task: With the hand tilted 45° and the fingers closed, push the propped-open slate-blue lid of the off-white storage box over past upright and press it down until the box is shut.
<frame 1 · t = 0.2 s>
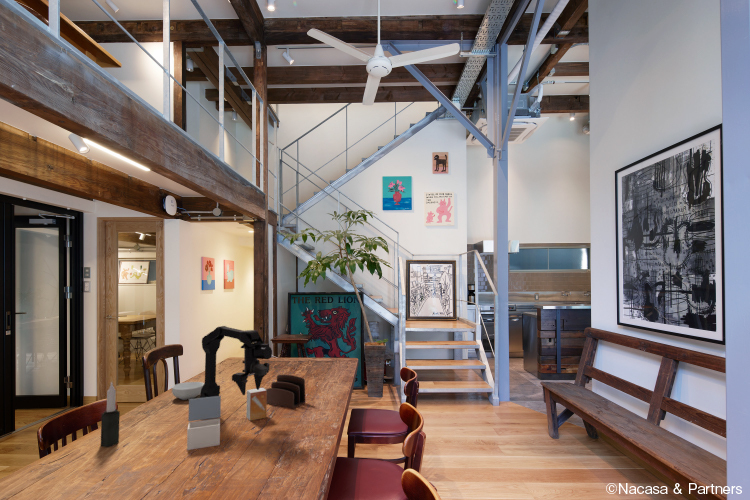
hand: (251, 392, 181), 15 cm above the table, tool pointing down, fingers open, 9 cm apart
small box: (256, 417, 190), on the table
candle: (109, 444, 161), on the table
storage box: (203, 443, 160), on the table
letter holder: (285, 403, 211), on the table
cereal bowl: (188, 398, 223), on the table
lid: (204, 408, 166), point 13 cm above the table, hinge at 96.0°
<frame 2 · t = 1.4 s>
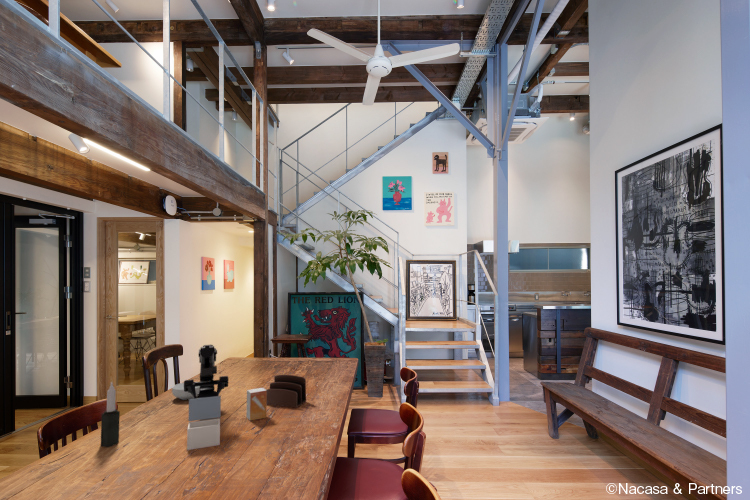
hand: (206, 400, 173), 13 cm above the table, tool tilted 45°, fingers open, 8 cm apart
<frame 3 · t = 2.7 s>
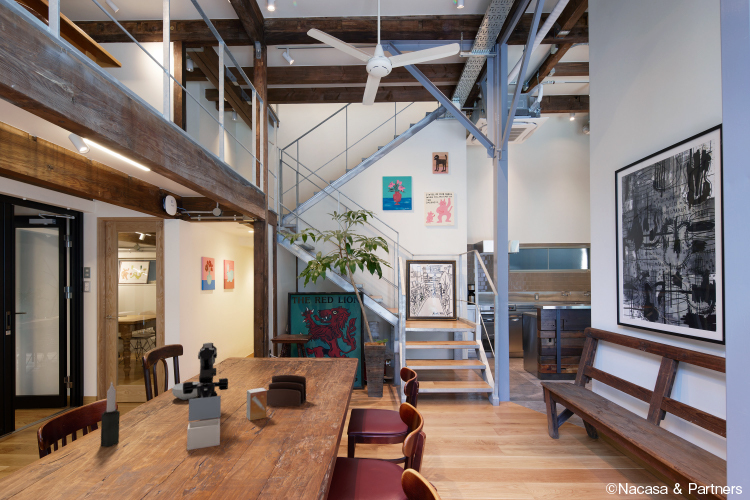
hand: (205, 403, 171), 13 cm above the table, tool tilted 45°, fingers closed
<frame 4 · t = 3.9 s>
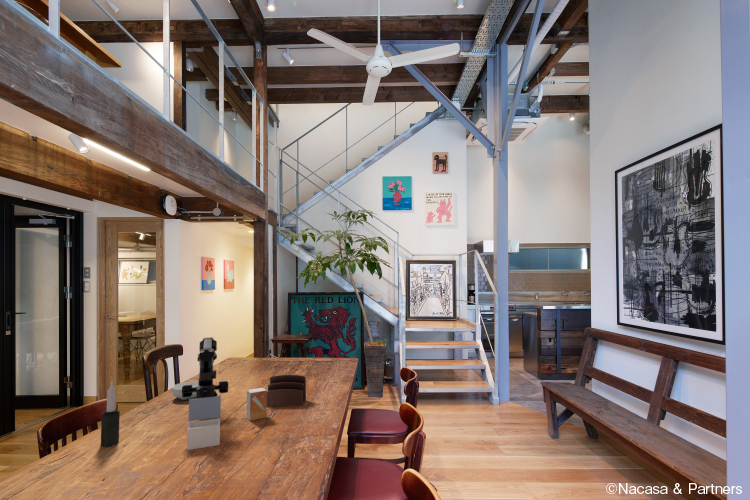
hand: (204, 407, 167), 13 cm above the table, tool tilted 45°, fingers closed, pressing on lid
lid: (204, 408, 166), point 13 cm above the table, hinge at 93.5°, touching gripper
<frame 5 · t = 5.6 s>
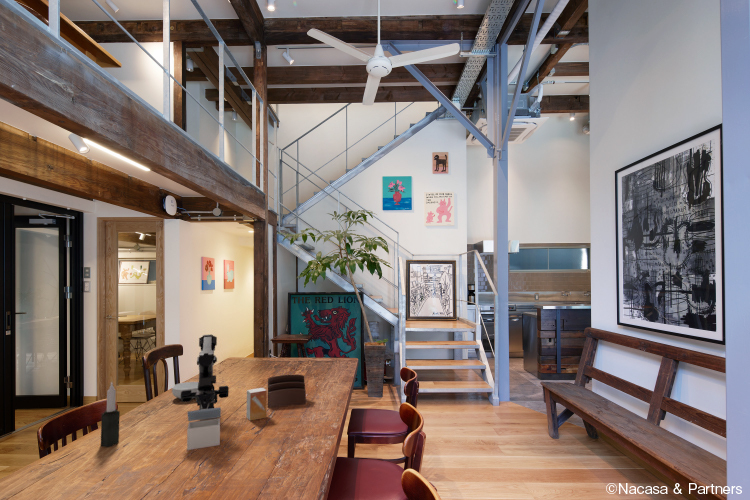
hand: (204, 412, 162), 12 cm above the table, tool tilted 45°, fingers closed, pressing on lid
lid: (204, 414, 162), point 11 cm above the table, hinge at 37.7°, touching gripper
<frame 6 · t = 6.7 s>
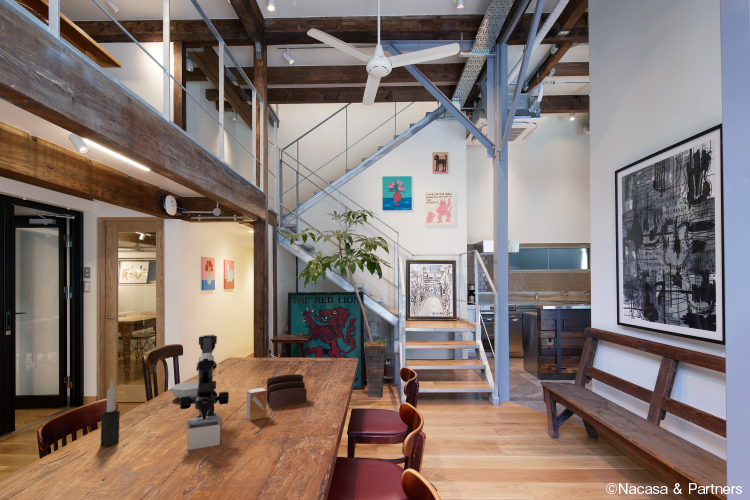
hand: (204, 419, 159), 10 cm above the table, tool tilted 45°, fingers closed, pressing on lid
lid: (204, 419, 161), point 9 cm above the table, hinge at 8.2°, touching gripper
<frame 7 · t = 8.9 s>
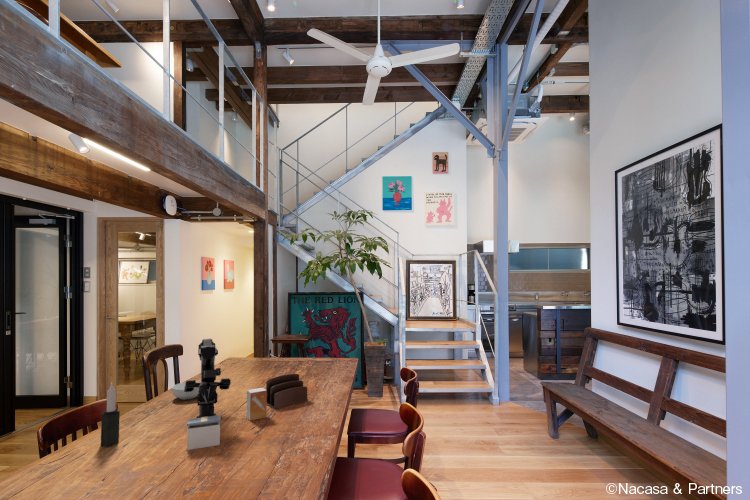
hand: (207, 403, 171), 13 cm above the table, tool tilted 40°, fingers closed
lid: (204, 420, 161), point 9 cm above the table, hinge at 6.1°
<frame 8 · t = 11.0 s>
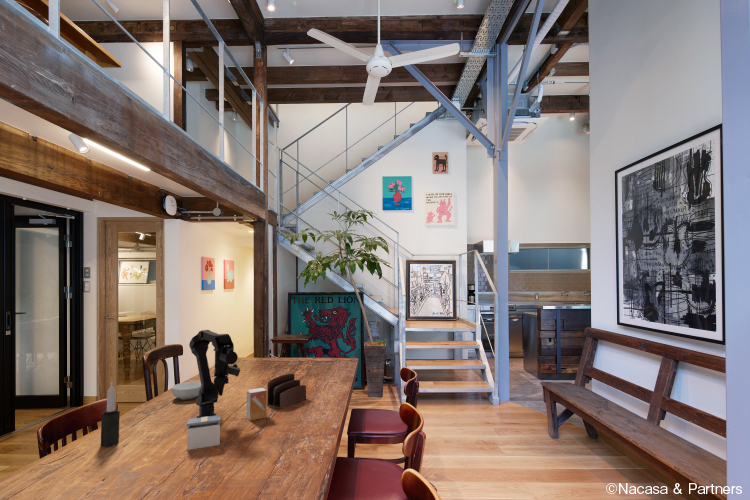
hand: (220, 395, 183), 13 cm above the table, tool pointing down, fingers closed
at the end: lid at +6° (first picture: +96°) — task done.
